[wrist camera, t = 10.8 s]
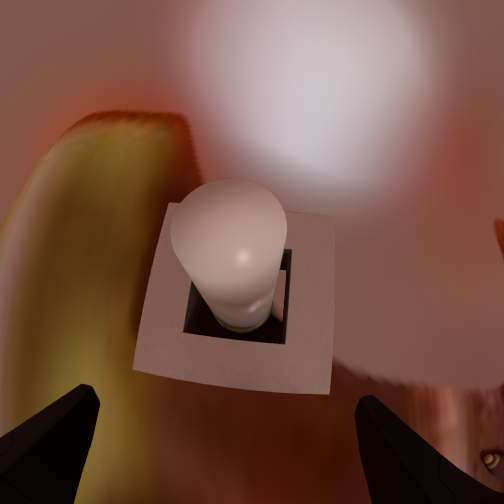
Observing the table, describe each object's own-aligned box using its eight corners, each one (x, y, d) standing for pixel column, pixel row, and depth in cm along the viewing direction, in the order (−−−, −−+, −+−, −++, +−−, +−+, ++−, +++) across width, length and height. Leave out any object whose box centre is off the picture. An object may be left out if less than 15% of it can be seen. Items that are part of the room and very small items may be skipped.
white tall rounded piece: (253, 345, 21) (249, 306, 10) (202, 315, 22) (146, 245, 10) (281, 294, 22) (308, 206, 11) (232, 268, 23) (211, 163, 12)
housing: (316, 391, 19) (329, 394, 16) (153, 371, 20) (132, 369, 16) (323, 240, 24) (334, 216, 21) (180, 227, 25) (169, 202, 21)
